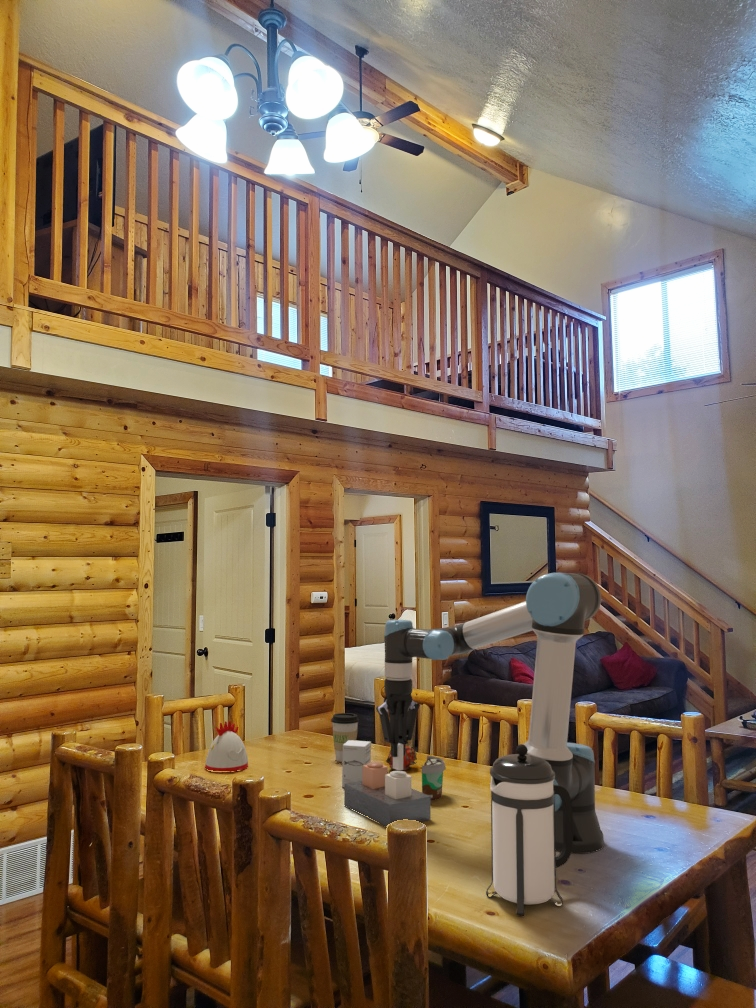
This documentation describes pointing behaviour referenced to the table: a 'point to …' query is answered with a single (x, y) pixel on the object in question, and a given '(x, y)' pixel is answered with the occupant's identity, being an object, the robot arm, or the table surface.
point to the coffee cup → (343, 731)
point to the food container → (433, 777)
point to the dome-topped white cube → (398, 785)
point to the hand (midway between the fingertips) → (398, 768)
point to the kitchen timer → (227, 751)
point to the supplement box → (355, 760)
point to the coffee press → (526, 829)
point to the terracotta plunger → (374, 775)
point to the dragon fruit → (404, 758)
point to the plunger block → (386, 804)
